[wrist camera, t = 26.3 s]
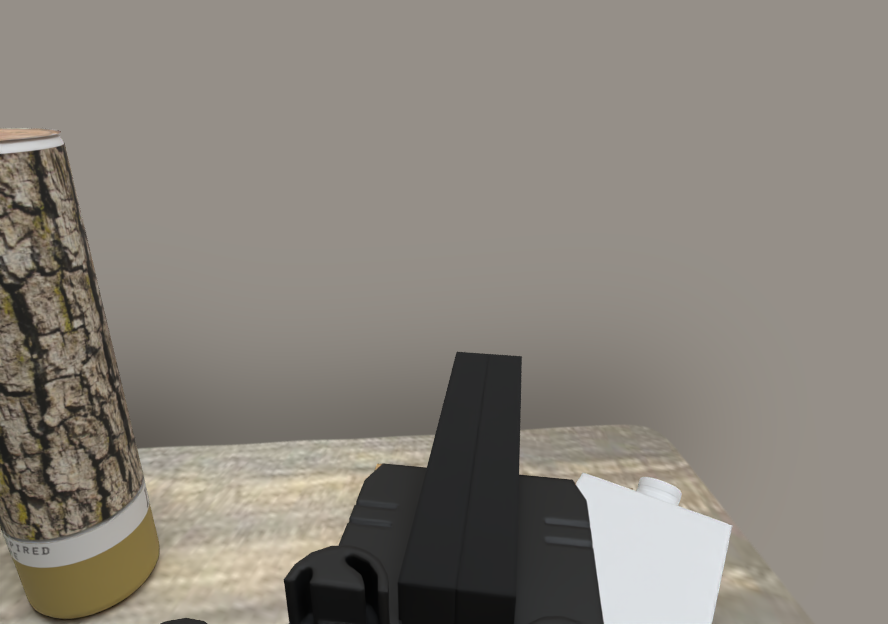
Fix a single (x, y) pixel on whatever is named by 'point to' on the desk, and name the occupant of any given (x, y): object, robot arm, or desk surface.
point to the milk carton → (653, 553)
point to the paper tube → (62, 399)
